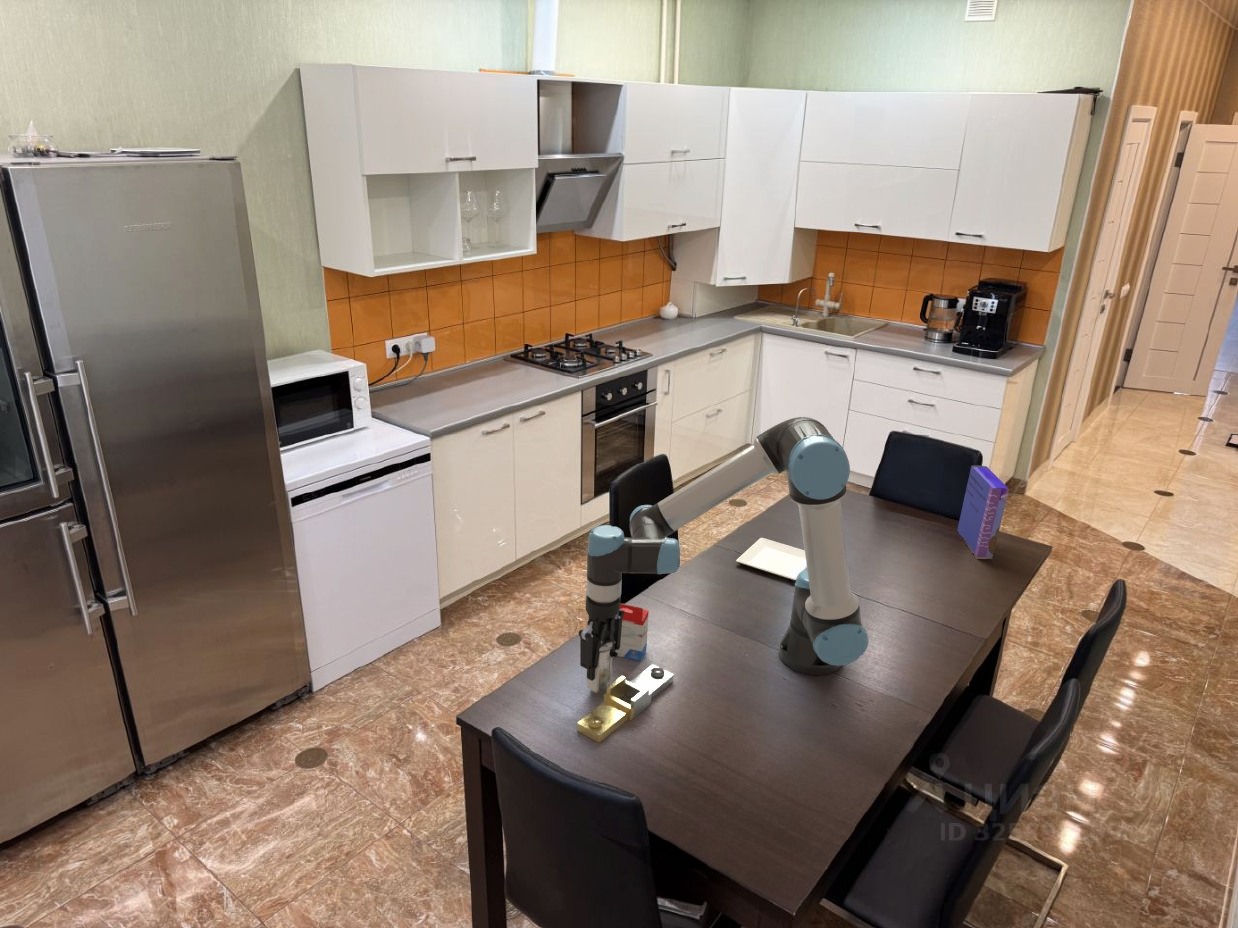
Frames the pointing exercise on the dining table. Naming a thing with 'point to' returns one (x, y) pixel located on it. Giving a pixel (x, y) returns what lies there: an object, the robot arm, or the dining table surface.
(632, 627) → the ink box
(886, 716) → the dining table surface
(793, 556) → the plate
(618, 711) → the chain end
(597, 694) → the pin
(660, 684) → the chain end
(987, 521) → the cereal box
